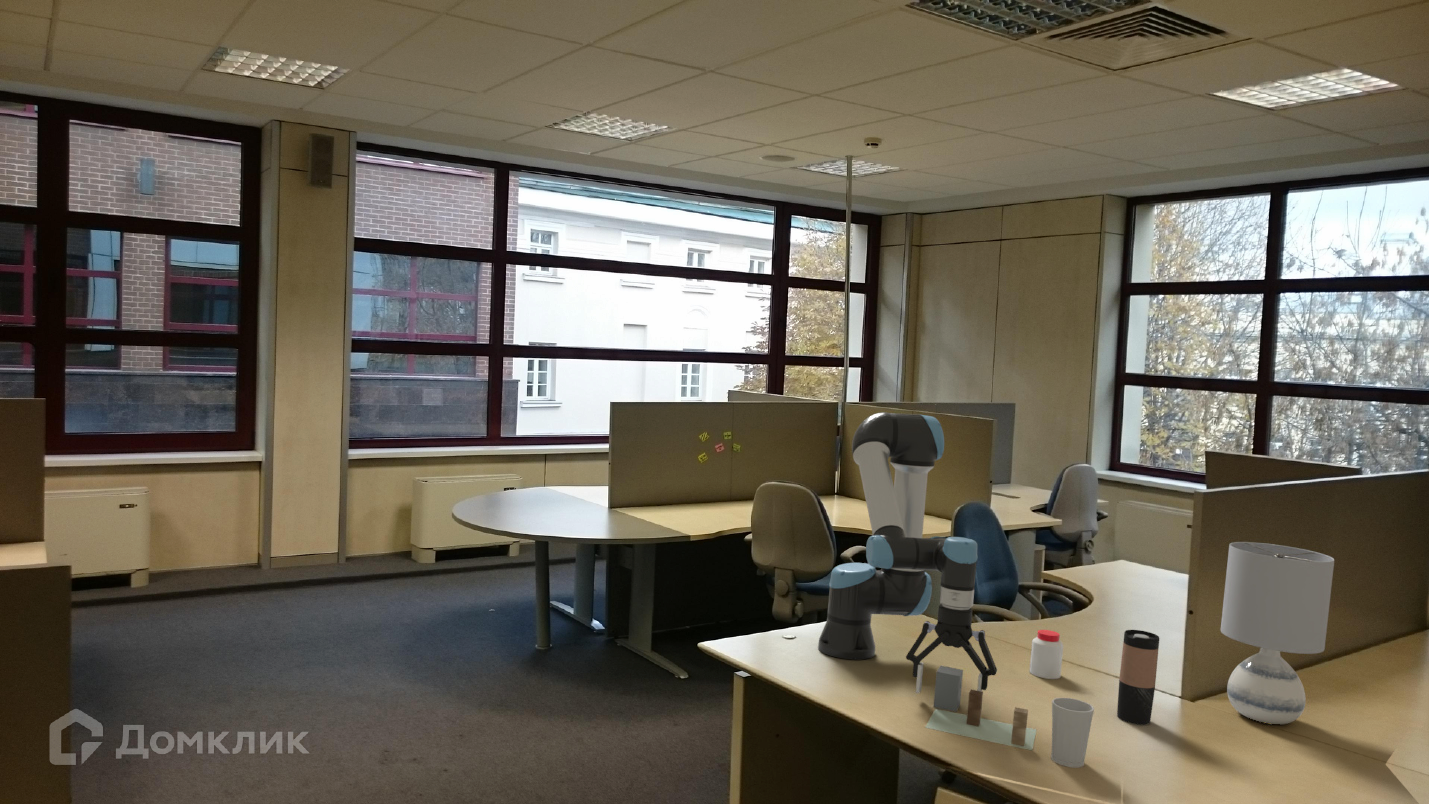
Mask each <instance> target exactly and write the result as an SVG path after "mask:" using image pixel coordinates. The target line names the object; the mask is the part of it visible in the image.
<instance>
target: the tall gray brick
mask: <svg viewBox="0 0 1429 804" xmlns="http://www.w3.org/2000/svg"><path fill="white" fill-rule="evenodd" d="M935 675H936V676H935V685H934V686H935V687H934V697H933V708H935V709H939V710H944V711H949V712H954V713H958V709H959V708H960V706H961V698H962V687H963V677H964V676H963V675H964V669H960V668H956V667H950V666H946V665H945V666H944V665H939V667H938V669H937V670H936V674H935Z"/></svg>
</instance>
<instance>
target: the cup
mask: <svg viewBox="0 0 1429 804" xmlns="http://www.w3.org/2000/svg"><path fill="white" fill-rule="evenodd" d="M1051 704H1052V705H1051V721H1052V722H1051V723H1052V724H1051V725H1052V726H1051V757H1050V760H1052V761H1053V762H1054V763H1055V764H1058V765H1060V766H1063V767H1067V768H1082V767H1084V766H1085V758H1086V754H1087V748H1088V743H1089V738H1090V732H1091V726H1092V720H1093V716H1094V713H1095V712H1094V710H1095V707H1094V706H1093V705H1092V704H1091V703H1088V702H1087V701H1083V700H1080V699H1077V698H1071V697H1055V698H1053V699H1052V700H1051Z"/></svg>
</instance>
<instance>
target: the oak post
mask: <svg viewBox="0 0 1429 804" xmlns="http://www.w3.org/2000/svg"><path fill="white" fill-rule="evenodd" d="M1028 713H1029V709H1026V708H1020V707H1018V706H1015V707H1014V710H1013V718H1012V720H1013V721H1012V725H1013V728H1012V739H1011V744H1015V745H1020V746H1024V744H1025V737H1026V727H1027V725H1028V716H1029V715H1028ZM1027 728H1028V727H1027Z"/></svg>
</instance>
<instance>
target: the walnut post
mask: <svg viewBox="0 0 1429 804" xmlns="http://www.w3.org/2000/svg"><path fill="white" fill-rule="evenodd" d="M983 694H984V692H983V690H982V691H977V689H970V690H969V693H968V703H967V704H968V705H967V713H966V715H967V723H966V724H968V725H973V726H977V727H979V724H980V718H982V704H983Z"/></svg>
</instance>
